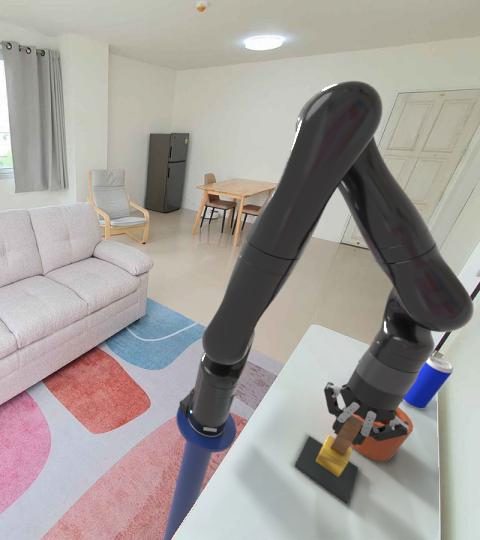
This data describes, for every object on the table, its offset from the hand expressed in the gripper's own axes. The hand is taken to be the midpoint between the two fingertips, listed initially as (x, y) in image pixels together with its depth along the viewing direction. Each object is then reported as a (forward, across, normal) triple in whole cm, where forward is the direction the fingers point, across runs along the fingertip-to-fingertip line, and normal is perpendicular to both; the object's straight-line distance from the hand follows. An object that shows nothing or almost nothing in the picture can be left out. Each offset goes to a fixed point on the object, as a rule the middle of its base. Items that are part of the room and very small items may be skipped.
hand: (345, 436), depth 61 cm
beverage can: (+11, +12, +39) cm, 42 cm away
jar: (+11, +5, +15) cm, 19 cm away
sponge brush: (+9, 0, 0) cm, 9 cm away
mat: (+11, 0, 0) cm, 11 cm away
